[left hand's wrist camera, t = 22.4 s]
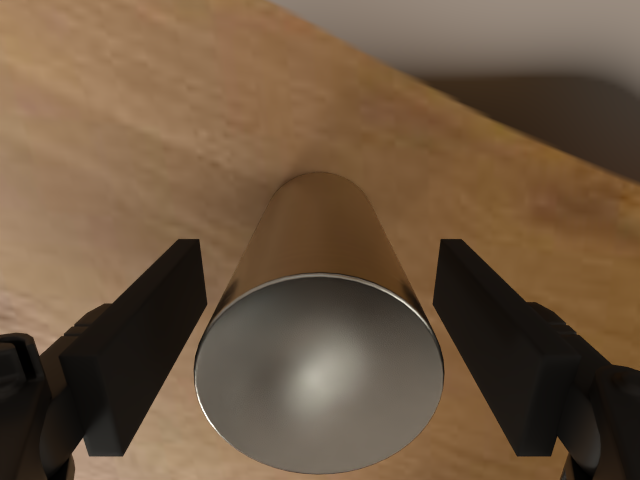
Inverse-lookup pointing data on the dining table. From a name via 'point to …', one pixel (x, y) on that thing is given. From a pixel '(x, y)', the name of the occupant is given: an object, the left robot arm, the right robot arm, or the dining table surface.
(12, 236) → the dining table surface
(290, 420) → the tin
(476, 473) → the dining table surface
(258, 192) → the dining table surface
